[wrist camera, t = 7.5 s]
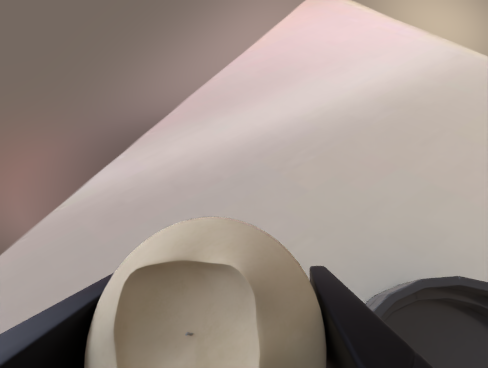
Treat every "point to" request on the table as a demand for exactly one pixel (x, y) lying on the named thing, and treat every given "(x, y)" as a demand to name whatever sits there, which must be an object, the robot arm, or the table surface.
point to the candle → (208, 303)
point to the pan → (439, 319)
